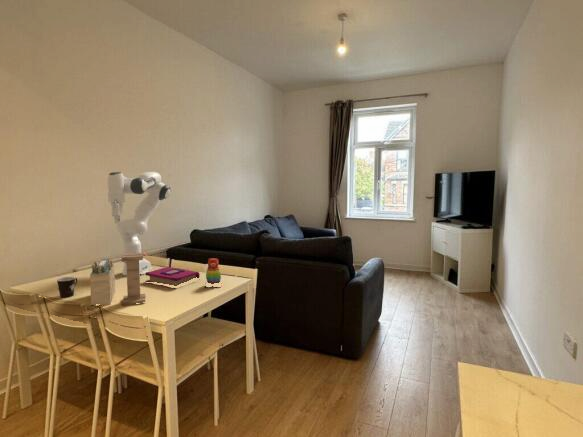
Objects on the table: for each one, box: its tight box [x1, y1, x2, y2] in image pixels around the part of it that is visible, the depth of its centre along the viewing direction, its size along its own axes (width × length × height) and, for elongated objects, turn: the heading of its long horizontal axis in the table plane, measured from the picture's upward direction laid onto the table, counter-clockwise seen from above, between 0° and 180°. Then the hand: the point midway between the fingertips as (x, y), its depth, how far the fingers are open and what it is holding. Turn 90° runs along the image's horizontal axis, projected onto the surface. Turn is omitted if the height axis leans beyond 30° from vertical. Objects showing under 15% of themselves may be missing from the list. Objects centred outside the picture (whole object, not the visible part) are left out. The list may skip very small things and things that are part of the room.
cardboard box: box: [89, 260, 116, 306], centre depth 187 cm, size 22×9×20 cm, turn 22°
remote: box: [96, 257, 111, 273], centre depth 188 cm, size 22×4×3 cm, turn 22°
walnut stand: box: [121, 252, 146, 307], centre depth 183 cm, size 11×11×26 cm
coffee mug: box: [56, 276, 78, 299], centre depth 192 cm, size 12×9×10 cm
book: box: [144, 266, 201, 286], centre depth 222 cm, size 21×28×8 cm
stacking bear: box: [205, 257, 222, 284], centre depth 214 cm, size 11×10×18 cm
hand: (117, 222), depth 201 cm, fingers open, 8 cm apart
